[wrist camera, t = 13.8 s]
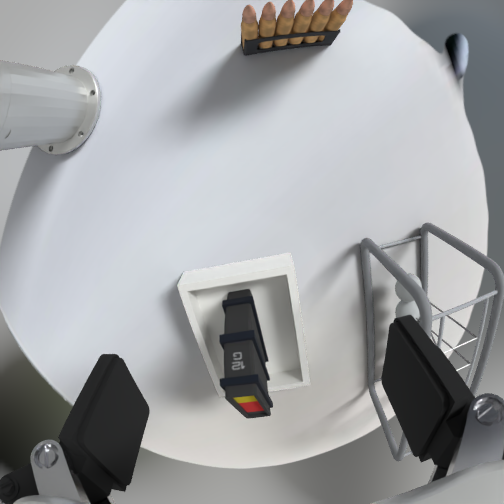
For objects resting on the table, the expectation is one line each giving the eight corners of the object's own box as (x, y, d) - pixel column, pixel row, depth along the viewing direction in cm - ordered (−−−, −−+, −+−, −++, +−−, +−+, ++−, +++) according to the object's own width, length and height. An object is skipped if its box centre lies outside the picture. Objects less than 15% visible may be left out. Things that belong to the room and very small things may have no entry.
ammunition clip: (244, 55, 29) (239, 16, 18) (240, 43, 28) (234, -1, 17) (331, 44, 28) (364, 7, 17) (327, 32, 27) (357, -9, 16)
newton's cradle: (417, 372, 46) (455, 441, 29) (367, 389, 47) (395, 466, 30) (424, 217, 36) (510, 269, 19) (357, 234, 37) (425, 303, 20)
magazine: (247, 269, 35) (259, 392, 25) (264, 323, 45) (275, 418, 34) (217, 275, 36) (219, 397, 25) (240, 327, 45) (247, 421, 34)
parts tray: (221, 379, 45) (219, 397, 41) (184, 271, 38) (177, 285, 35) (306, 367, 44) (310, 384, 40) (290, 252, 37) (294, 264, 34)
